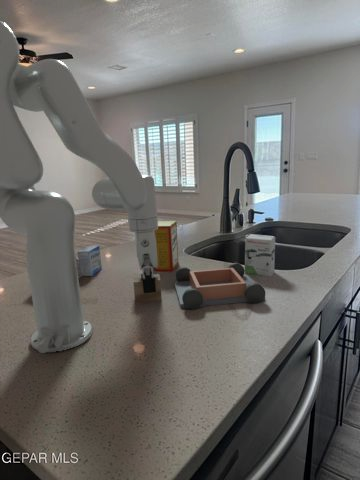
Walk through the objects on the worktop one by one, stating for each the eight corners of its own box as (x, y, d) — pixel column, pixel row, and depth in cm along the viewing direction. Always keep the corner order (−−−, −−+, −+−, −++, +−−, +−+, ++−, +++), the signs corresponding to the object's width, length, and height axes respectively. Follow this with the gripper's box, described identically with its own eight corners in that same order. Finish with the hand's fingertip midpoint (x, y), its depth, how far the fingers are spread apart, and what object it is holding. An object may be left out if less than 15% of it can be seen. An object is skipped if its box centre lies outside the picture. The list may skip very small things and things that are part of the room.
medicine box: (92, 276, 111) (89, 251, 109) (80, 276, 112) (76, 251, 110) (102, 269, 119) (99, 245, 117) (90, 268, 120) (87, 245, 118)
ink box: (244, 273, 107) (243, 237, 105) (249, 268, 112) (248, 233, 109) (271, 276, 103) (271, 239, 100) (275, 271, 107) (275, 235, 105)
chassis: (267, 302, 85) (267, 283, 84) (181, 310, 83) (180, 291, 82) (244, 277, 103) (244, 261, 102) (174, 283, 101) (173, 267, 100)
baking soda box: (161, 263, 122) (158, 219, 118) (178, 263, 121) (176, 219, 117) (153, 271, 113) (150, 225, 109) (172, 271, 112) (170, 225, 108)
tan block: (161, 301, 89) (160, 276, 88) (135, 303, 88) (133, 278, 87) (160, 294, 94) (159, 270, 92) (135, 296, 93) (133, 272, 92)
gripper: (159, 229, 79) (165, 296, 83) (156, 216, 95) (161, 272, 100) (127, 232, 78) (135, 300, 82) (129, 218, 95) (135, 275, 99)
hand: (149, 285), depth 91 cm, fingers open, 9 cm apart
